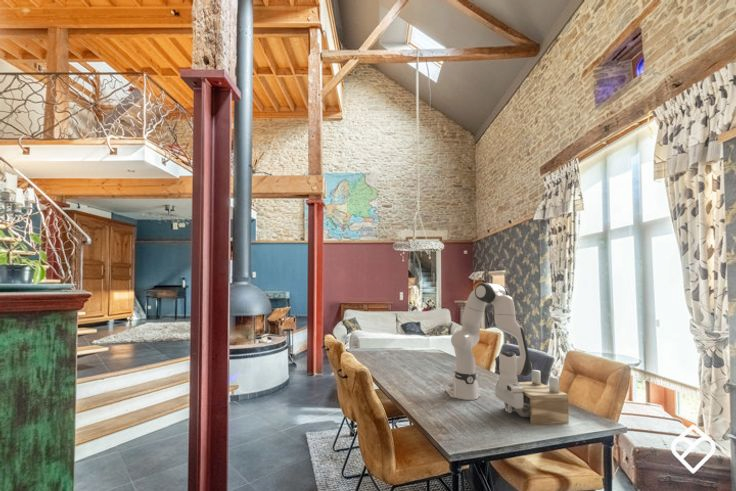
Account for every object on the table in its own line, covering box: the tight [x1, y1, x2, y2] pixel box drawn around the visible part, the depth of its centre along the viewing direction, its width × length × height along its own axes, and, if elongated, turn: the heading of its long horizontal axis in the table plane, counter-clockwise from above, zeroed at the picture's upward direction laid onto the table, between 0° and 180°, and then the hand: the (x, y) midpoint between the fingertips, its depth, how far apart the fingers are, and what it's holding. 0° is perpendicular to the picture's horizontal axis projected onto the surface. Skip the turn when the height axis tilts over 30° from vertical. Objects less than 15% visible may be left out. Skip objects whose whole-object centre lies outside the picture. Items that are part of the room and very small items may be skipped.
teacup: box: [512, 397, 531, 418], centre depth 195 cm, size 15×12×8 cm
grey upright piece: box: [548, 375, 560, 393], centre depth 192 cm, size 4×4×7 cm
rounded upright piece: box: [531, 369, 542, 385], centre depth 206 cm, size 4×4×7 cm
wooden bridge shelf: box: [512, 381, 570, 426], centre depth 197 cm, size 24×20×14 cm
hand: (508, 412), depth 193 cm, fingers closed
